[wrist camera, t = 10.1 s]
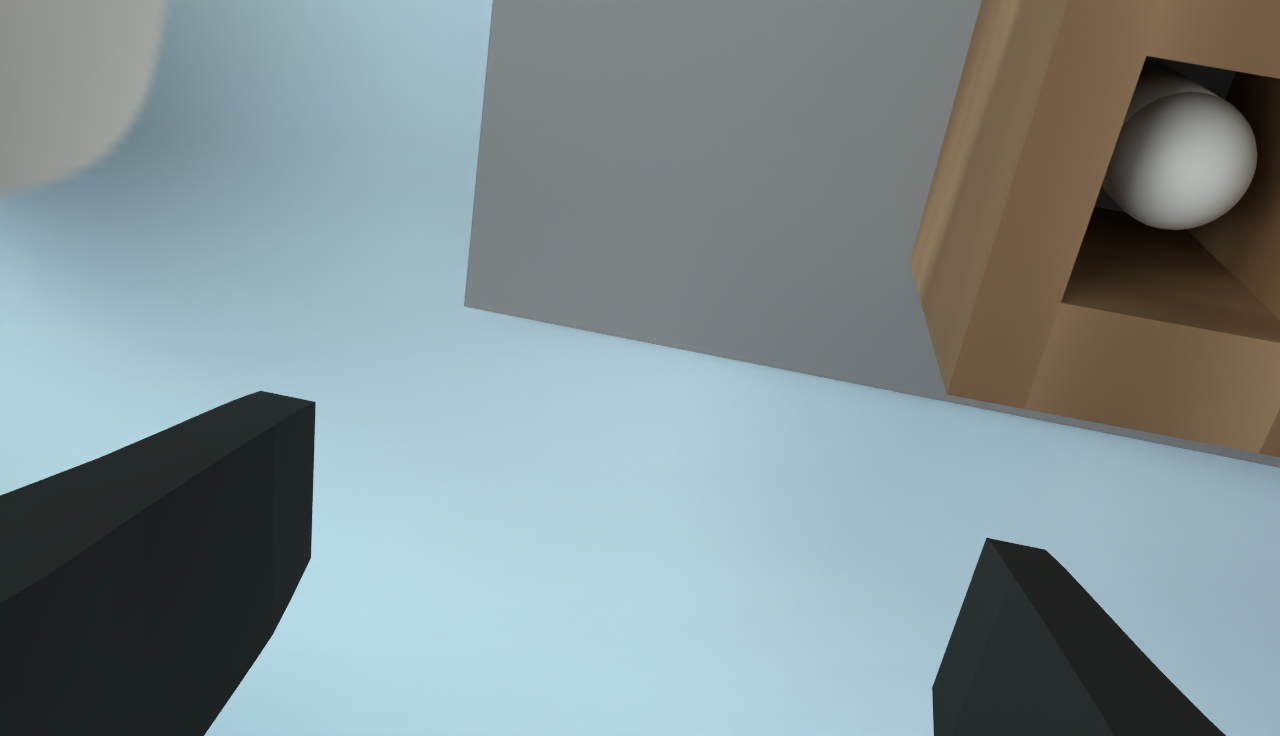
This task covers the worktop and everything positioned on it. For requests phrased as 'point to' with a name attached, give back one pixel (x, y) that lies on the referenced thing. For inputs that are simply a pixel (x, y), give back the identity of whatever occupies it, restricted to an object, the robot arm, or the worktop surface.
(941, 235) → the collar
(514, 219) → the hub board
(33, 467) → the worktop surface
